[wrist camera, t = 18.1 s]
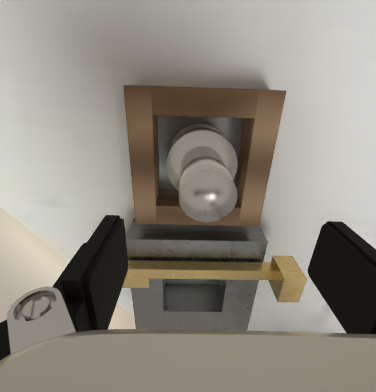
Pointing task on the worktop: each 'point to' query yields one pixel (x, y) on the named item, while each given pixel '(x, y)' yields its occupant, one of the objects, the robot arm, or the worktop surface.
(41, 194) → the worktop surface
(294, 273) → the brass key
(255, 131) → the frame
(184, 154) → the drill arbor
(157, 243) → the spindle block
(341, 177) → the worktop surface
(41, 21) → the worktop surface
